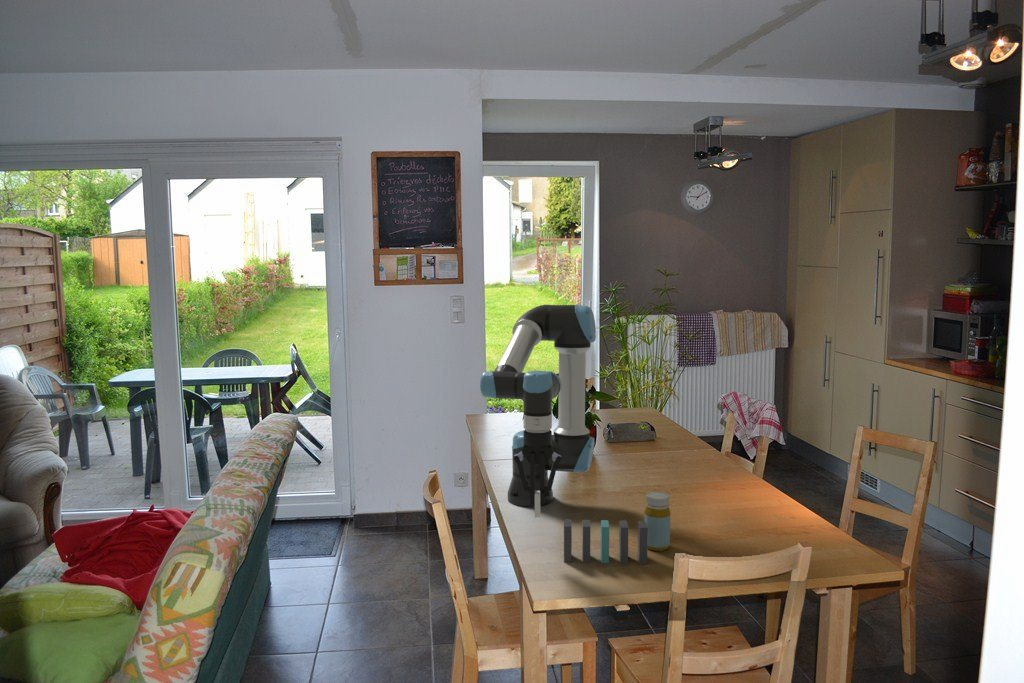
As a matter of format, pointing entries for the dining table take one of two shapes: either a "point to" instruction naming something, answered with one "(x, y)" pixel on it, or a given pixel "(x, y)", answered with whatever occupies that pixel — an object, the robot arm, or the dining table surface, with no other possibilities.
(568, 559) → the domino
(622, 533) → the domino
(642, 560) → the domino
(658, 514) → the bottle
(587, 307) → the robot arm
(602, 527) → the domino
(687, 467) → the dining table surface
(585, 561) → the domino
